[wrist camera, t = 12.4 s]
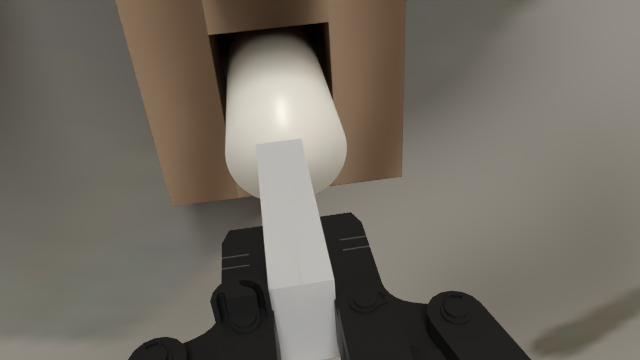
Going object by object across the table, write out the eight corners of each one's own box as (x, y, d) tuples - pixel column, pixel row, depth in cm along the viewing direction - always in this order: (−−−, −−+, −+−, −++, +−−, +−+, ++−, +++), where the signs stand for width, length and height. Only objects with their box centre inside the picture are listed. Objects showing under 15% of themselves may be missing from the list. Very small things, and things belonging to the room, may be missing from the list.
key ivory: (235, 107, 28) (235, 209, 21) (220, 23, 26) (215, 105, 18) (318, 97, 28) (349, 194, 21) (312, 13, 26) (344, 90, 18)
